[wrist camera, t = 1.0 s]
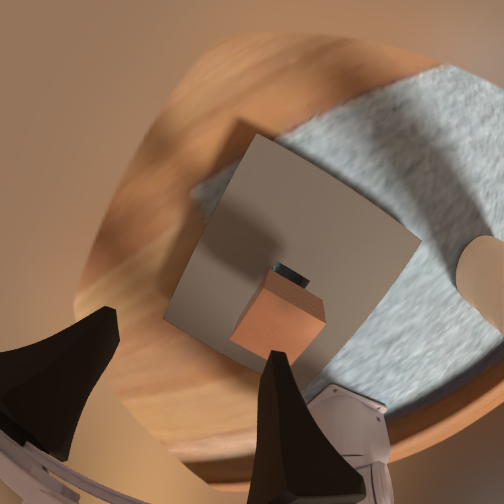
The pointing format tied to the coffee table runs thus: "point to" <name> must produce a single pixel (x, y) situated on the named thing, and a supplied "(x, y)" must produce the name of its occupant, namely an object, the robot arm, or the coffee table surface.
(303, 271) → the base
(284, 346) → the orange rectangular block
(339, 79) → the coffee table surface
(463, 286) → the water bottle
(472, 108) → the coffee table surface
